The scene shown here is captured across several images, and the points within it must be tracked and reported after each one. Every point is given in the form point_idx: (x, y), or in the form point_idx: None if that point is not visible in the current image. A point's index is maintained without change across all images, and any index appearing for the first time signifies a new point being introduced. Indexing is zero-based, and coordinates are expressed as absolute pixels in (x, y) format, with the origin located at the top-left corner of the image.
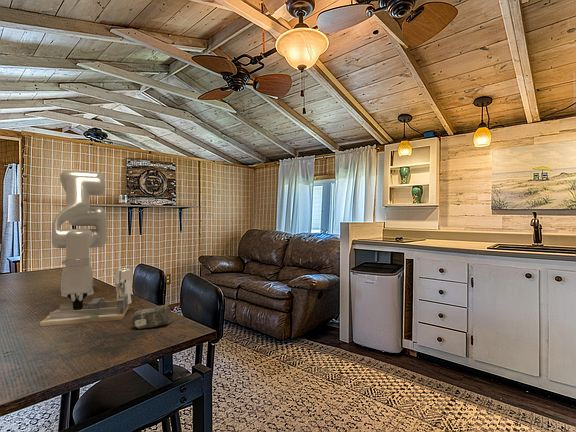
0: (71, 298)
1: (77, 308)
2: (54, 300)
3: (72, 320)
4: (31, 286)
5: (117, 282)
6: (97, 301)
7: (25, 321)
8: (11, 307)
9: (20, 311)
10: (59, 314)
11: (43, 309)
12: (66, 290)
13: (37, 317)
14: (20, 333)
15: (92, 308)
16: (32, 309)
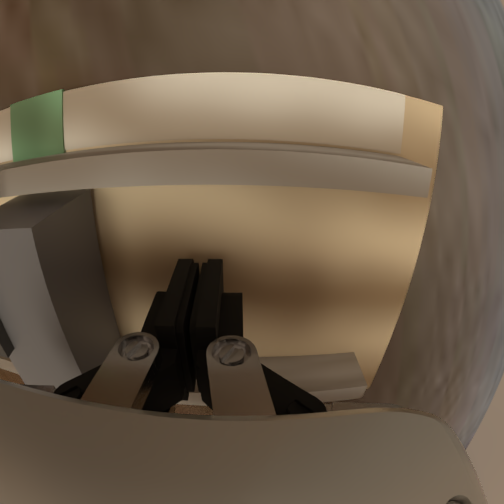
0: (258, 370)
1: (190, 276)
2: None
3: (191, 74)
4: None
5: None
6: (1, 300)
7: (488, 254)
8: (476, 413)
9: (472, 386)
10: (338, 151)
11: (411, 407)
12: (372, 481)
13: (446, 310)
14: (473, 24)
15: (30, 208)
16: (441, 405)
